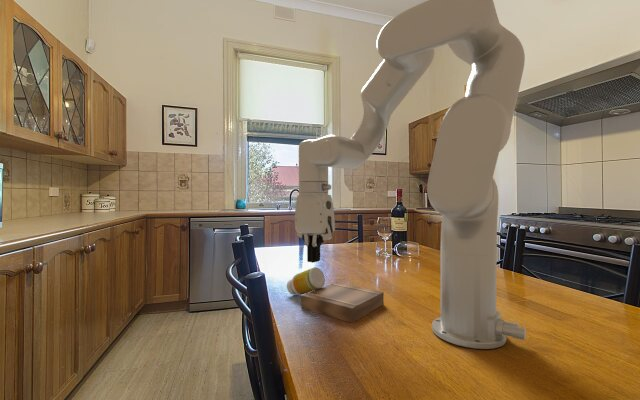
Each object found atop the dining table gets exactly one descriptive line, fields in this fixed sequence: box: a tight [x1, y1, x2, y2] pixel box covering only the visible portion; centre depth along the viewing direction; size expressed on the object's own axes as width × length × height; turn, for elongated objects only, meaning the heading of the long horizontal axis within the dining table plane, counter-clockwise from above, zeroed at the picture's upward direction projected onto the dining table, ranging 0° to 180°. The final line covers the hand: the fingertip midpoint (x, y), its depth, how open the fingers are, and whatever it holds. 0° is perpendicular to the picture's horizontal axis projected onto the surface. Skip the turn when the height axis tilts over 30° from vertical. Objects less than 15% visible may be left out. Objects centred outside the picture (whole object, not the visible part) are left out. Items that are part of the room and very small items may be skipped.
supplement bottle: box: [286, 266, 326, 296], centre depth 81 cm, size 5×5×10 cm
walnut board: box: [300, 282, 385, 323], centre depth 74 cm, size 14×14×3 cm
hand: (313, 261), depth 80 cm, fingers closed
